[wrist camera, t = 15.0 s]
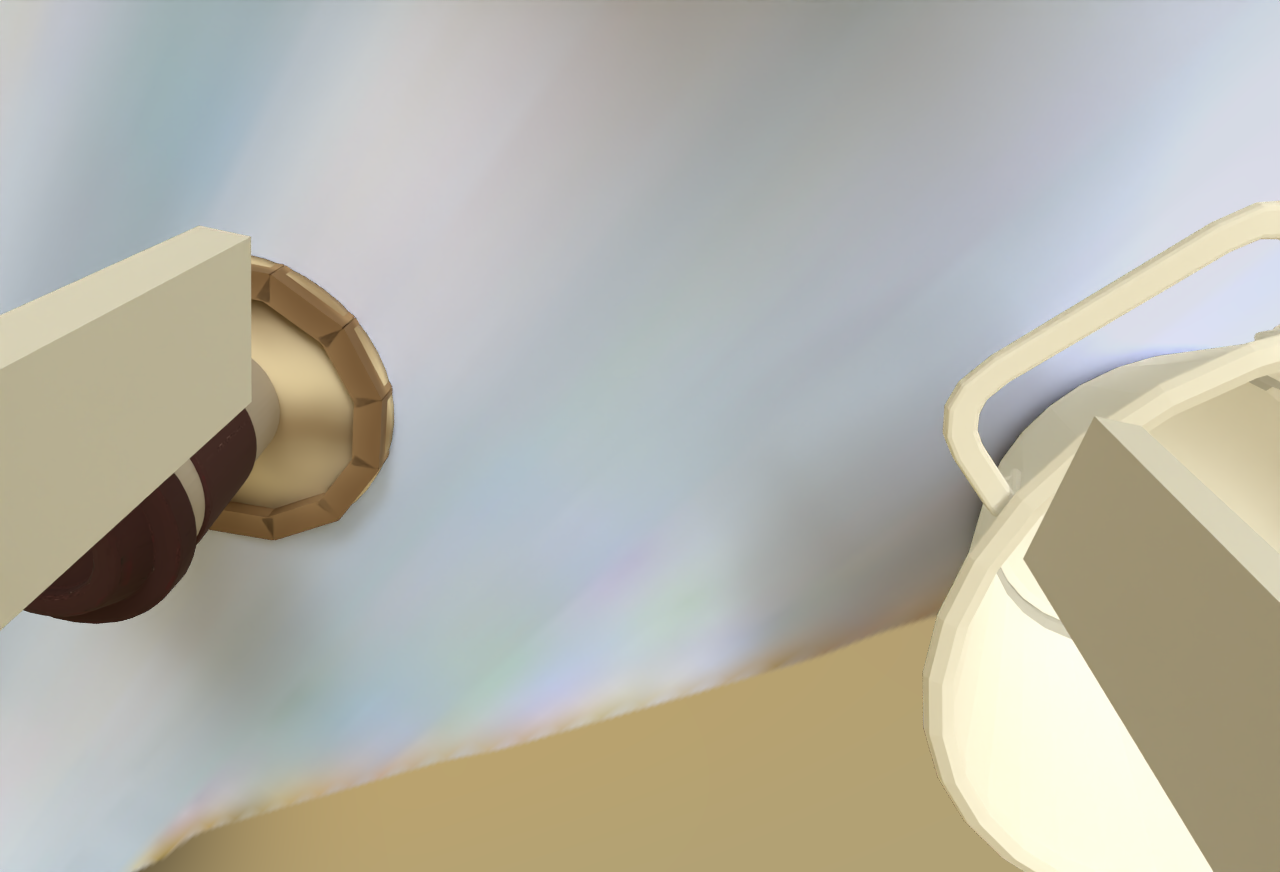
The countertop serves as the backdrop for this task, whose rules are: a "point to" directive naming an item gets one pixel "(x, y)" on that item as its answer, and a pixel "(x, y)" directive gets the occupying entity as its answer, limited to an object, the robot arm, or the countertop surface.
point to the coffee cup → (164, 524)
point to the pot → (1022, 615)
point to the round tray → (311, 409)
